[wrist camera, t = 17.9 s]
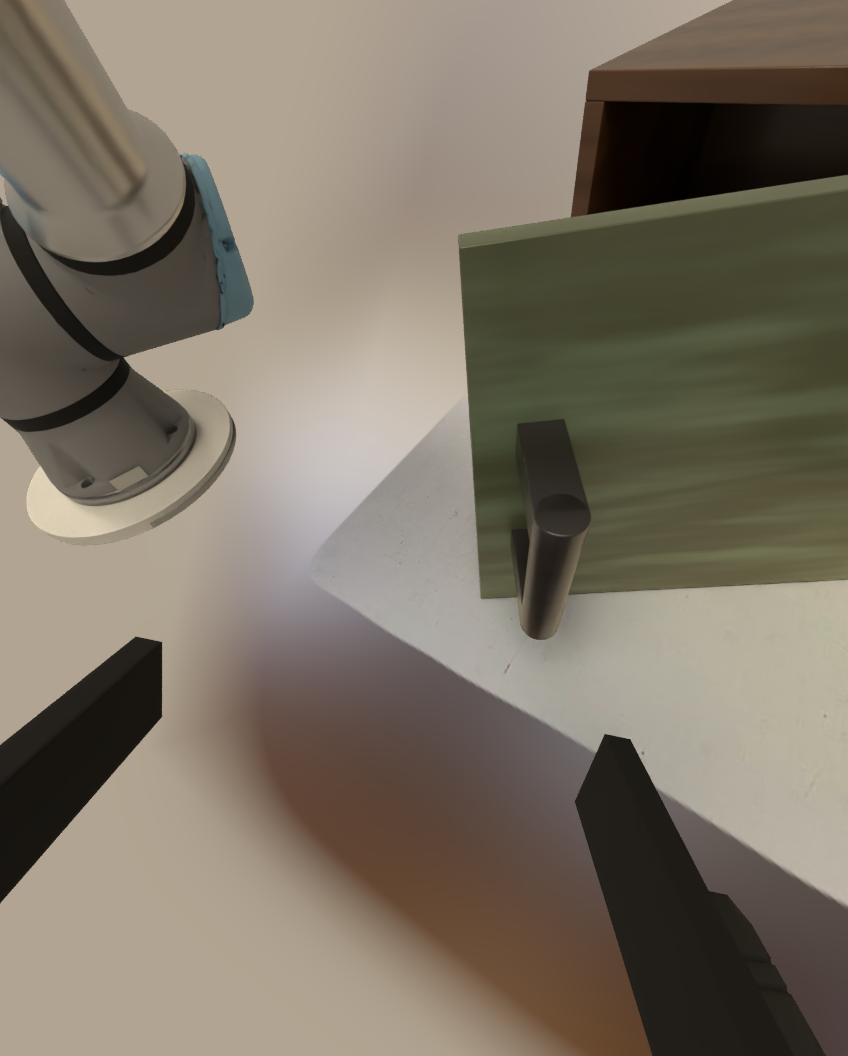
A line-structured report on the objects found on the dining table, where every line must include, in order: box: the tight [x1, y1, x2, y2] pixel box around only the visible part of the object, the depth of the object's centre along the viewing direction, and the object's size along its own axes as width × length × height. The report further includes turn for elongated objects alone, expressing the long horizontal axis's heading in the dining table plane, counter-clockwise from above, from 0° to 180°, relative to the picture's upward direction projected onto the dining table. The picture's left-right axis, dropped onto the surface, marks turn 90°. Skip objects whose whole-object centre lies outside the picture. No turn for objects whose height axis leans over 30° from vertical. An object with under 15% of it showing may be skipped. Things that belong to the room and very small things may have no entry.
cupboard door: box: [458, 175, 848, 640], centre depth 19 cm, size 7×26×24 cm, turn 89°
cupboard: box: [571, 0, 848, 217], centre depth 29 cm, size 18×26×24 cm
